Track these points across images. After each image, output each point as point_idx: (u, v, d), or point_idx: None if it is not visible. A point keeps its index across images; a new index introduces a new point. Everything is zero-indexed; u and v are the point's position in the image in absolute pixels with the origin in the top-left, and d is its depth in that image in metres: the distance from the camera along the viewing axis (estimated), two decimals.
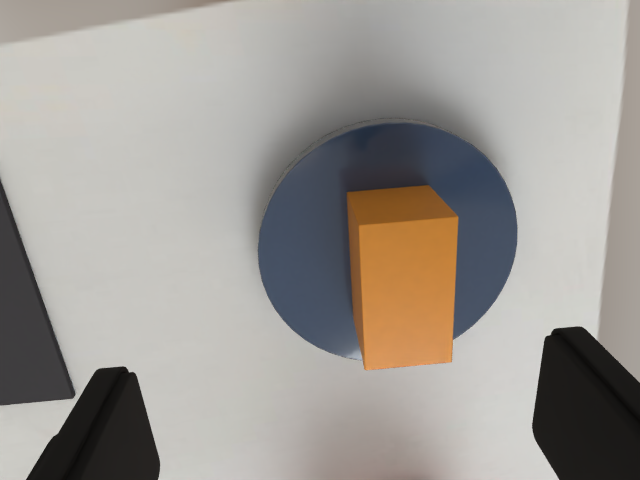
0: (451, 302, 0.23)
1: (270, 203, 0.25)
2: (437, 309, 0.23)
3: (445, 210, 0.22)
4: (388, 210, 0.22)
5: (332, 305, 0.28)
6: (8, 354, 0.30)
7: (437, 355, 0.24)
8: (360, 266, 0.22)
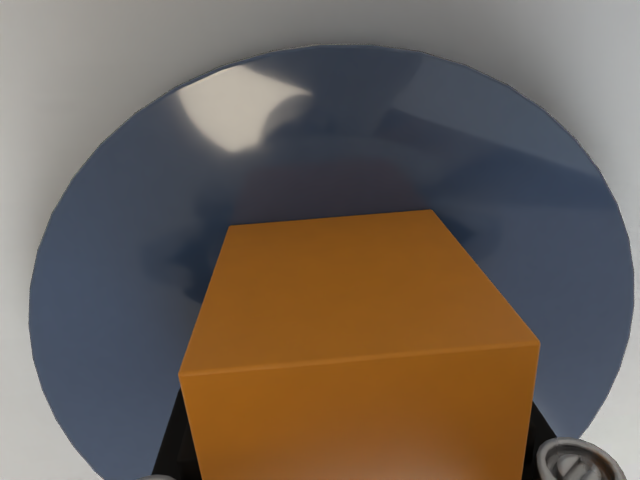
0: None
1: (39, 252, 0.10)
2: None
3: (489, 307, 0.07)
4: (308, 296, 0.07)
5: None
6: None
7: None
8: None
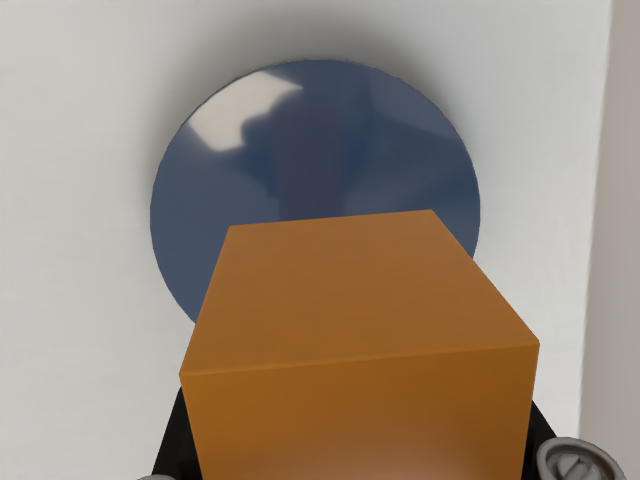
0: None
1: (160, 165, 0.20)
2: None
3: (488, 307, 0.07)
4: (307, 296, 0.07)
5: None
6: None
7: None
8: None
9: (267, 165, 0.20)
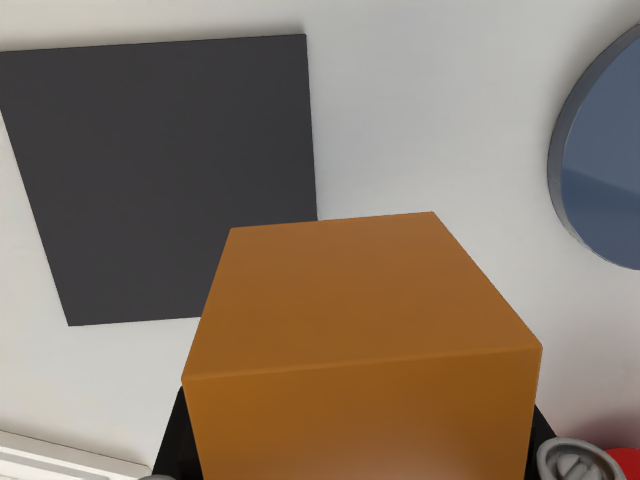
0: None
1: (593, 86, 0.24)
2: None
3: (490, 311, 0.07)
4: (309, 300, 0.07)
5: (623, 205, 0.27)
6: None
7: None
8: None
9: None
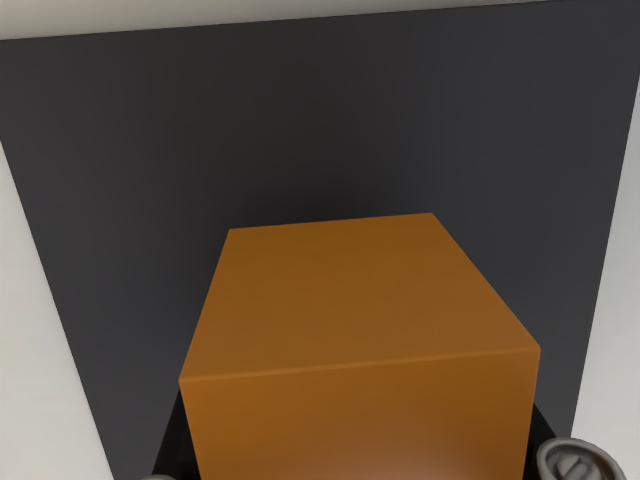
0: None
1: None
2: None
3: (489, 312, 0.07)
4: (308, 300, 0.07)
5: None
6: None
7: None
8: None
9: None
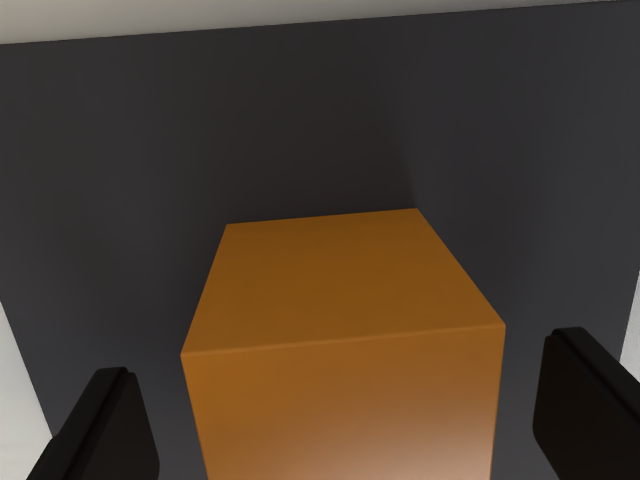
0: None
1: None
2: None
3: (462, 295, 0.07)
4: (298, 287, 0.08)
5: None
6: (507, 448, 0.14)
7: None
8: (206, 463, 0.07)
9: None
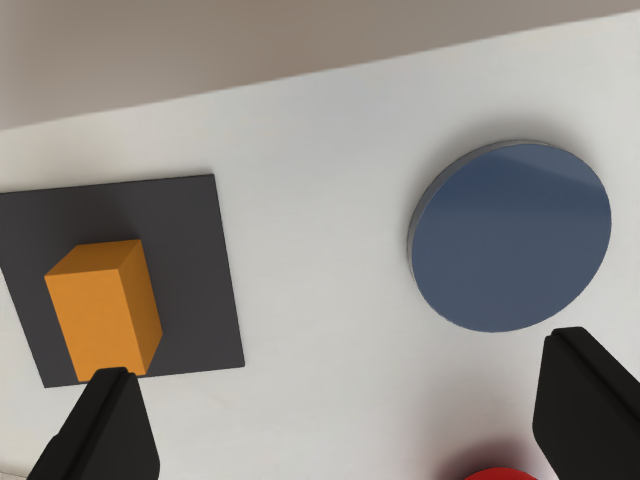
0: (131, 330, 0.31)
1: (426, 206, 0.33)
2: (122, 335, 0.31)
3: (116, 263, 0.30)
4: (81, 262, 0.30)
5: (464, 286, 0.36)
6: (199, 329, 0.37)
7: (132, 369, 0.32)
8: (54, 305, 0.30)
9: (488, 204, 0.33)
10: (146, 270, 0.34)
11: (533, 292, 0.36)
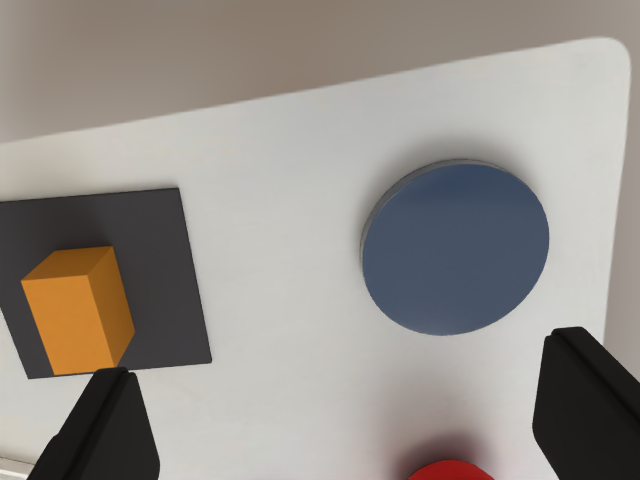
0: (100, 329, 0.34)
1: (374, 219, 0.36)
2: (92, 334, 0.34)
3: (86, 269, 0.33)
4: (55, 268, 0.33)
5: (412, 293, 0.38)
6: (169, 328, 0.40)
7: (102, 365, 0.35)
8: (30, 306, 0.33)
9: (432, 218, 0.36)
10: (118, 274, 0.37)
11: (478, 299, 0.39)
